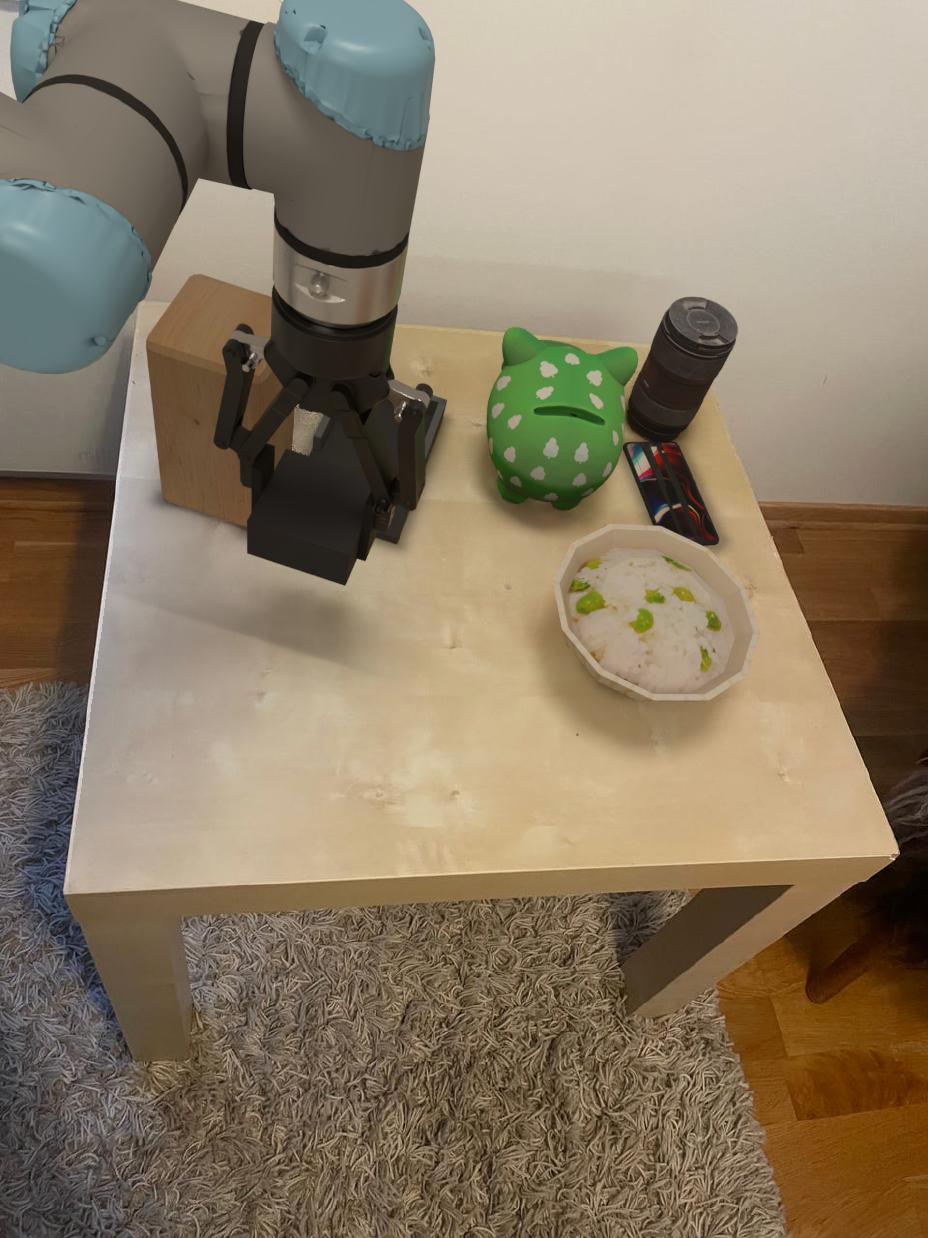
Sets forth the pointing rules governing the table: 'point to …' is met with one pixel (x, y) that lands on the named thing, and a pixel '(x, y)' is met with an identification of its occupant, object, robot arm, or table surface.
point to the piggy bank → (556, 418)
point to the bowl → (654, 614)
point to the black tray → (341, 450)
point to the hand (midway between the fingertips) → (314, 530)
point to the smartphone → (670, 490)
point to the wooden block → (206, 395)
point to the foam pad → (310, 517)
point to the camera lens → (680, 367)
